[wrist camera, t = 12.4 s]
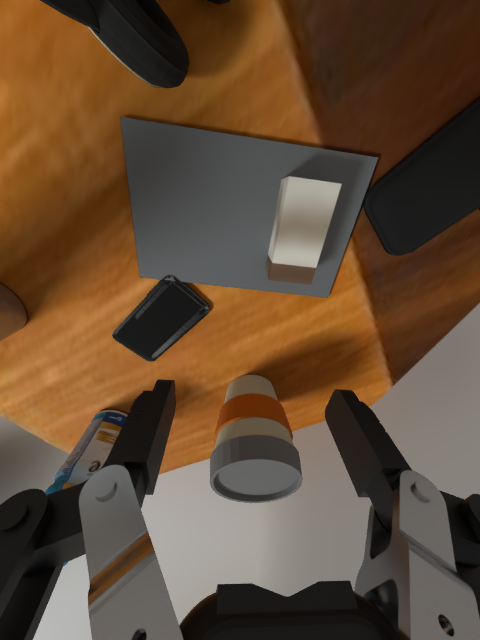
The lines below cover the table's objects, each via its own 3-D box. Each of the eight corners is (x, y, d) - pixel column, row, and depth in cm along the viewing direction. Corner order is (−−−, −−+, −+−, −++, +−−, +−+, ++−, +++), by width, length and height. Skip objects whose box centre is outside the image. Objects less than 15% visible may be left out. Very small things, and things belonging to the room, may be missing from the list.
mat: (141, 275, 29) (139, 277, 28) (123, 118, 21) (120, 116, 20) (326, 296, 30) (327, 297, 30) (375, 158, 22) (378, 157, 22)
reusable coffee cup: (290, 403, 42) (313, 495, 29) (232, 418, 45) (229, 509, 32) (272, 359, 36) (291, 448, 24) (206, 378, 39) (190, 470, 26)
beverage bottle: (88, 407, 43) (-14, 552, 25) (130, 407, 43) (58, 551, 25) (102, 432, 47) (22, 570, 30) (140, 432, 47) (83, 570, 30)
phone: (212, 310, 31) (151, 363, 36) (212, 306, 32) (153, 359, 37) (168, 271, 28) (108, 336, 33) (170, 268, 29) (112, 331, 34)
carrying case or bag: (388, 265, 29) (515, 179, 24) (403, 272, 26) (550, 176, 21) (351, 197, 25) (497, 76, 20) (365, 197, 22) (537, 58, 17)
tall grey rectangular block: (281, 179, 23) (289, 176, 19) (326, 185, 23) (341, 183, 20) (265, 269, 28) (269, 280, 24) (302, 273, 28) (311, 284, 25)
